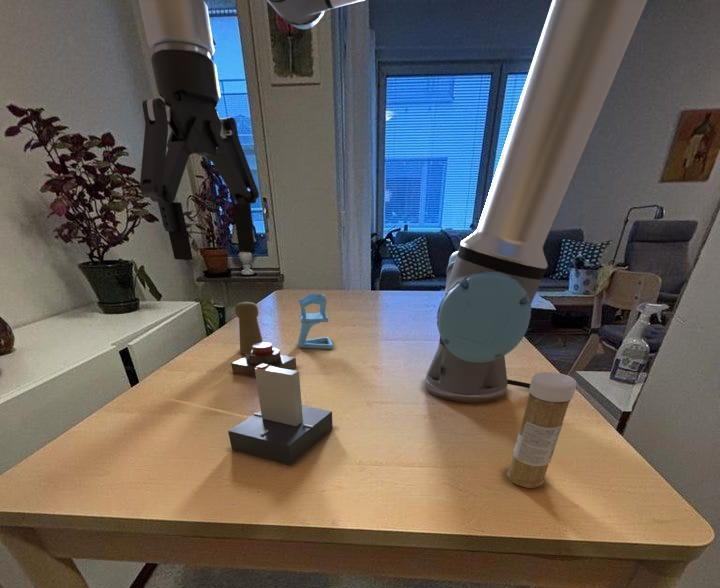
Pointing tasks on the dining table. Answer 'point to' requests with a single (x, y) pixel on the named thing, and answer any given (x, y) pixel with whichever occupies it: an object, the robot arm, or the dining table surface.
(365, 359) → the dining table surface
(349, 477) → the dining table surface
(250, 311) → the cork
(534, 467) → the sprinkles bottle
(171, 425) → the dining table surface
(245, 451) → the panel
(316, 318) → the chair
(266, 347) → the button
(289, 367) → the button block
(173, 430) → the dining table surface
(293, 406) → the handle
